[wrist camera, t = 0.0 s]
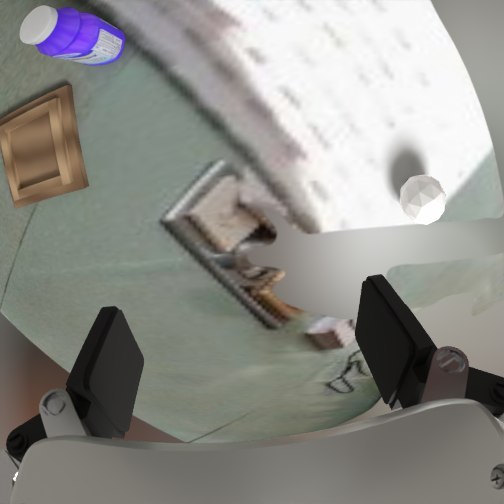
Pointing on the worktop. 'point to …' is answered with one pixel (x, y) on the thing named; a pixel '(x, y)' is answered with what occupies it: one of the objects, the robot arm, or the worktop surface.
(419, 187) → the geometric ball
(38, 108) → the walnut base
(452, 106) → the worktop surface
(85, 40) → the bottle
